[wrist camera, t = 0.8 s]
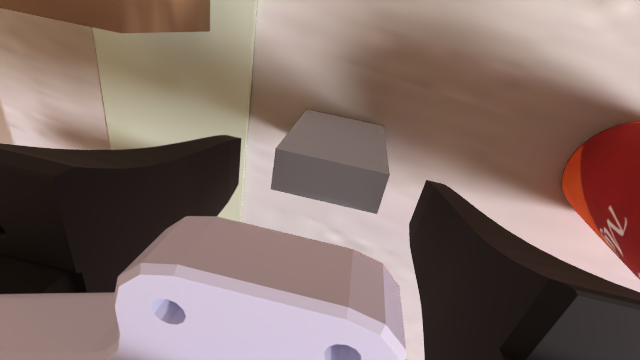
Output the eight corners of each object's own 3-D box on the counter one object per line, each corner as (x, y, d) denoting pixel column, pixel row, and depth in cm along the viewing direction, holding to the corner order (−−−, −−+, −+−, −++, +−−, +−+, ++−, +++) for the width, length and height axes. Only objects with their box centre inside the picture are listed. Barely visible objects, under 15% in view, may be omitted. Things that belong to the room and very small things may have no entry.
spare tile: (375, 155, 18) (376, 213, 12) (301, 138, 18) (270, 189, 13) (383, 126, 17) (389, 174, 12) (306, 109, 17) (275, 148, 12)
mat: (241, 219, 21) (239, 222, 21) (120, 190, 22) (117, 192, 22) (286, -406, 10) (284, -418, 10) (29, -440, 10) (21, -452, 10)
